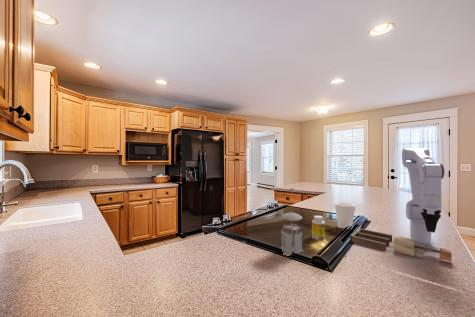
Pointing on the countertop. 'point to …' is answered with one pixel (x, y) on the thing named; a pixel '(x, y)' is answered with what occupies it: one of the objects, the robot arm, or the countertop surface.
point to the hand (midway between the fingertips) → (431, 229)
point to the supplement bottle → (318, 228)
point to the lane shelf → (380, 242)
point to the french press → (291, 234)
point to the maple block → (409, 246)
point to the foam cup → (344, 214)
